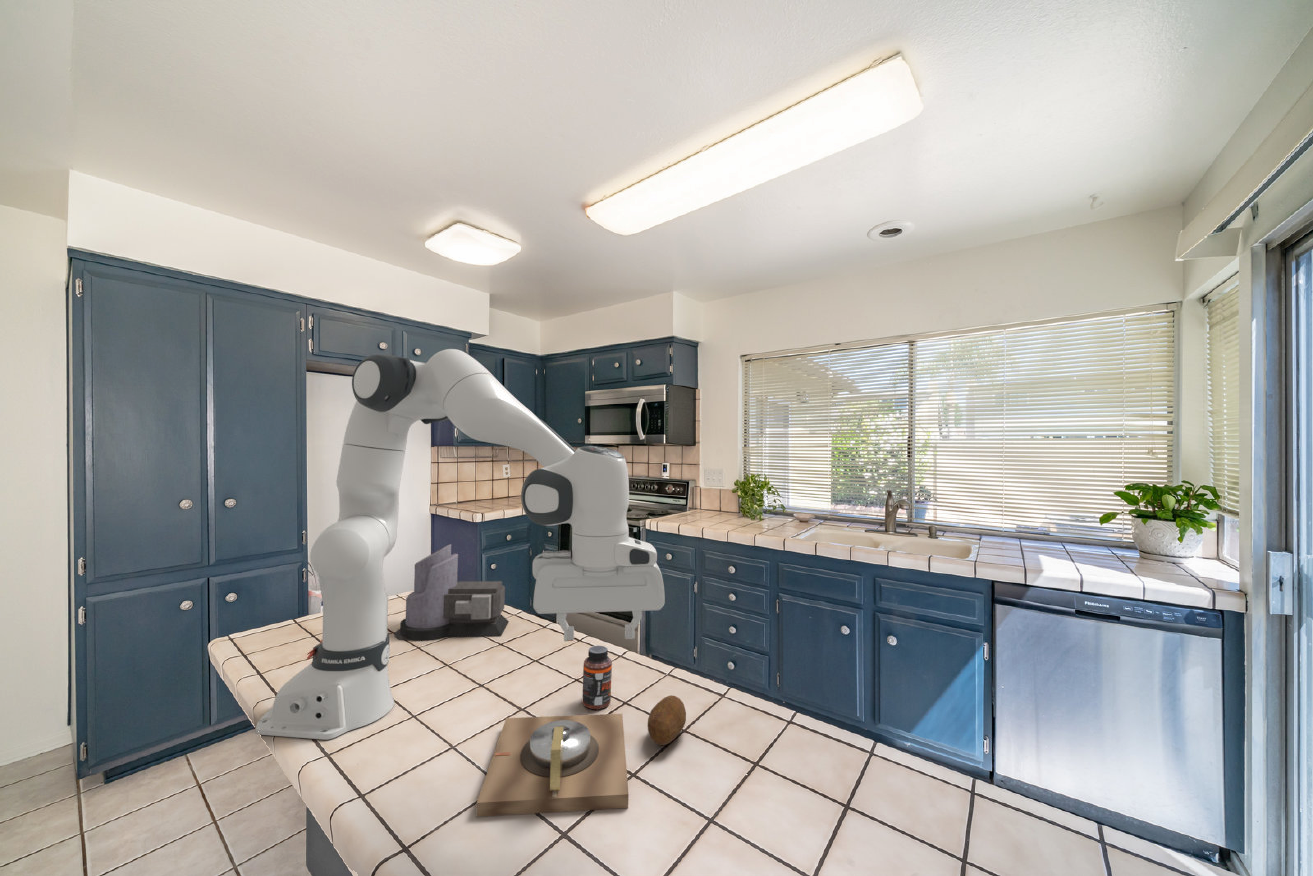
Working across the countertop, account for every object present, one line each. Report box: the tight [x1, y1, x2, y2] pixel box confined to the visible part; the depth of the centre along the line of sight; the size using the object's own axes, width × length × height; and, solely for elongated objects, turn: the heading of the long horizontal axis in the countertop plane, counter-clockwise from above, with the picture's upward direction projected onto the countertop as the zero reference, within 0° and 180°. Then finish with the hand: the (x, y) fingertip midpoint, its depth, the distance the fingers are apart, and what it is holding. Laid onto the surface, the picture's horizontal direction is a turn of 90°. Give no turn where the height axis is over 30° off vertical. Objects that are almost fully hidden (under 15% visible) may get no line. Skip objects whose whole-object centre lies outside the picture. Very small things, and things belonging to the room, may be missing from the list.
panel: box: [475, 713, 630, 818], centre depth 83 cm, size 22×22×2 cm
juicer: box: [393, 544, 509, 642], centre depth 141 cm, size 30×16×24 cm, turn 96°
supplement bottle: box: [582, 645, 613, 710], centre depth 103 cm, size 6×6×11 cm
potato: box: [647, 695, 687, 746], centre depth 91 cm, size 7×12×7 cm, turn 165°
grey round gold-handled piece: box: [530, 720, 590, 790], centre depth 81 cm, size 15×10×6 cm, turn 6°
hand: (599, 638), depth 76 cm, fingers open, 8 cm apart
